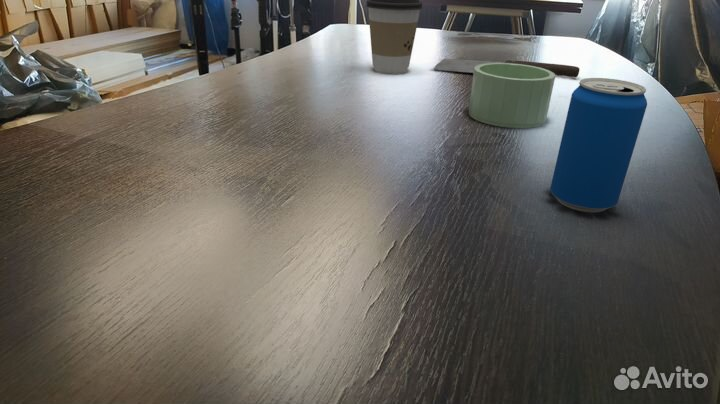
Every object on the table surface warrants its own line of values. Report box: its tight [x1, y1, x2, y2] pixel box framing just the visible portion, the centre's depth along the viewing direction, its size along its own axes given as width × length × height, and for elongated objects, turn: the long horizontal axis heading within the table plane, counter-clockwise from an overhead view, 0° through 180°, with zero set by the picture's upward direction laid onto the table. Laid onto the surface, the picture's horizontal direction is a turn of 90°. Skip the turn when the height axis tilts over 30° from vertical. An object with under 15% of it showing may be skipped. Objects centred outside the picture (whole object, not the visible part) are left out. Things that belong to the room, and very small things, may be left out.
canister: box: [468, 63, 556, 129], centre depth 76 cm, size 12×12×7 cm
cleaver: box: [433, 58, 580, 78], centre depth 105 cm, size 29×10×2 cm, turn 75°
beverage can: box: [549, 77, 648, 213], centre depth 49 cm, size 6×6×12 cm
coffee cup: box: [365, 0, 424, 75], centre depth 101 cm, size 11×11×15 cm
